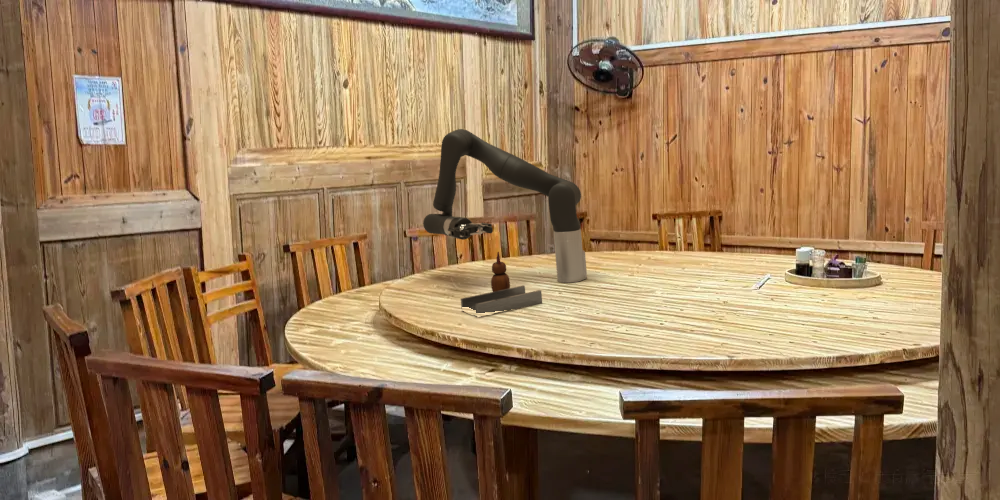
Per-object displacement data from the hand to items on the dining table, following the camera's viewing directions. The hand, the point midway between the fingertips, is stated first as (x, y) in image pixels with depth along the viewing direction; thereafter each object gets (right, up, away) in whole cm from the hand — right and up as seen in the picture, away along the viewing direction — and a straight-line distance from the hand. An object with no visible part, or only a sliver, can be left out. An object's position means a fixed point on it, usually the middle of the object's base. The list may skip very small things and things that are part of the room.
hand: (479, 232), depth 276 cm
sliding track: (+7, -23, -21) cm, 32 cm away
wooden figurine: (+7, -21, -6) cm, 23 cm away
